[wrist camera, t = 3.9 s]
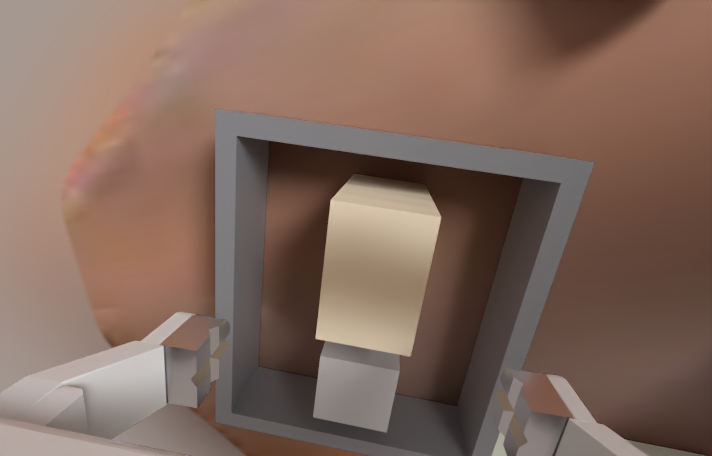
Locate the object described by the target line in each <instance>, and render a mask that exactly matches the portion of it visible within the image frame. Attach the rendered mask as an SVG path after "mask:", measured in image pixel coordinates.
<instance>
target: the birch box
mask: <svg viewBox="0 0 712 456" xmlns="http://www.w3.org/2000/svg"><path fill="white" fill-rule="evenodd" d="M440 222H441V215H440V213H439V211H438V209H437V207H436V205H435V203H434V201H433V199H432V197H431V195H430V193H429V191H428V189H427V187H426V185H425V184H419V183H412V182H406V181H399V180H392V179H386V178H379V177H372V176H366V175H359V174H354V175H353V176H352V177H351V178H350V179H349V180H348V181H347V182H346V183H345V185H344V186H343V187H342V188H341V189H340V190H339V191H338V192H337V194H336V195H335V196H334V197H333V198H332V199H331V202H330V211H329V220H328V229H327V238H326V247H325V256H324V266H323V275H322V284H321V293H320V302H319V311H318V320H317V329H316V338H315V339H319V340H324V341H329V342H335V343H340V344H345V345H351V346H356V347H361V348H367V349H372V350H377V351H382V352H388V353H393V354H398V355H404V356H409V357H411V353H412V348H413V344H414V339H415V335H416V330H417V326H418V321H419V317H420V312H421V308H422V303H423V299H424V294H425V290H426V285H427V280H428V276H429V271H430V267H431V262H432V258H433V253H434V249H435V244H436V240H437V235H438V231H439V226H440Z"/></svg>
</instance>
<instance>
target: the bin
mask: <svg viewBox="0 0 712 456" xmlns="http://www.w3.org/2000/svg"><path fill="white" fill-rule="evenodd" d="M269 141H275V142H282V143H289V144H296V145H303V146H310V147H317V148H323V149H330V150H337V151H344V152H351V153H358V154H365V155H371V156H378V157H385V158H392V159H399V160H406V161H413V162H420V163H426V164H433V165H440V166H447V167H454V168H461V169H468V170H474V171H481V172H488V173H495V174H502V175H509V176H516V177H522V178H523V180H522V184H521V187H520V191H519V194H518V198H517V201H516V204H515V208H514V211H513V215H512V218H511V222H510V225H509V229H508V232H507V236H506V239H505V242H504V246H503V249H502V253H501V256H500V260H499V263H498V267H497V270H496V274H495V277H494V280H493V284H492V287H491V291H490V294H489V298H488V301H487V305H486V308H485V312H484V315H483V318H482V322H481V325H480V329H479V332H478V336H477V339H476V343H475V346H474V350H473V353H472V356H471V360H470V363H469V367H468V370H467V374H466V377H465V381H464V384H463V388H462V391H461V394H460V398H459V401H458V405H457V406H455V405H449V404H444V403H439V402H434V401H429V400H424V399H419V398H414V397H409V396H404V395H399V394H395V396H394V401H393V405H392V410H391V415H390V419H389V424H388V429H387V433H386V432H382V431H377V430H372V429H367V428H362V427H357V426H353V425H348V424H343V423H338V422H333V421H329V420H324V419H319V418H314V417H313V412H314V404H315V396H316V387H317V379H318V378H314V377H309V376H304V375H299V374H294V373H289V372H284V371H278V370H273V369H268V368H263V367H258V365H259V344H260V324H261V303H262V282H263V262H264V241H265V221H266V200H267V180H268V159H269ZM594 163H595V162H590V161H584V160H579V159H573V158H568V157H562V156H556V155H551V154H543V153H536V152H529V151H522V150H515V149H508V148H501V147H493V146H486V145H479V144H472V143H465V142H458V141H451V140H443V139H436V138H429V137H422V136H415V135H408V134H400V133H393V132H386V131H379V130H372V129H365V128H358V127H350V126H343V125H336V124H329V123H322V122H315V121H307V120H300V119H293V118H286V117H279V116H272V115H265V114H257V113H249V112H239V111H229V110H219V109H215V318H219V319H224V320H228V322H229V323H230V333H229V335H228V336H227V337H226V338H225V339H226V341H227V342H228V344H229V345H230V353H229V359H228V362H227V365H226V367H225V370H224V372H223V373H222V374H221V376H220V377H219V378H218V379H216V380H215V423H220V424H224V425H229V426H234V427H239V428H243V429H248V430H253V431H257V432H262V433H267V434H271V435H276V436H281V437H285V438H290V439H295V440H299V441H304V442H309V443H313V444H318V445H323V446H327V447H332V448H337V449H341V450H346V451H351V452H355V453H360V454H365V455H369V456H492V453H493V450H494V447H495V445H496V442H497V439H498V436H499V433H500V431H499V430H498V429H497V426H496V423H495V419H494V400H495V396H496V392H498V391H499V390H500V389H502V388H503V385H502V383H501V381H500V378H501V375H502V372H503V371H504V369H505V368H509V369H515V370H522V368H523V365H524V362H525V359H526V357H527V354H528V351H529V348H530V345H531V342H532V339H533V337H534V334H535V331H536V328H537V325H538V322H539V320H540V317H541V314H542V311H543V308H544V305H545V303H546V300H547V297H548V294H549V291H550V288H551V285H552V283H553V280H554V277H555V274H556V271H557V268H558V266H559V263H560V260H561V257H562V254H563V251H564V249H565V246H566V243H567V240H568V237H569V234H570V231H571V229H572V226H573V223H574V220H575V217H576V214H577V212H578V209H579V206H580V203H581V200H582V197H583V194H584V192H585V189H586V186H587V183H588V180H589V177H590V175H591V172H592V169H593V166H594Z"/></svg>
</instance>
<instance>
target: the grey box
mask: <svg viewBox="0 0 712 456" xmlns="http://www.w3.org/2000/svg"><path fill="white" fill-rule="evenodd" d="M399 373H400V355H398V354H393V353H388V352H382V351H377V350H372V349H367V348H361V347H356V346H351V345H345V344H340V343H335V342H329V341H325V343H324V346H323V349H322V352H321V355H320V362H319V371H318V379H317V387H316V396H315V404H314V412H313V417H314V418H319V419H324V420H329V421H333V422H338V423H343V424H348V425H353V426H357V427H362V428H367V429H372V430H377V431H382V432H386V433H387V429H388V424H389V419H390V415H391V410H392V405H393V401H394V396H395V391H396V387H397V382H398V377H399Z"/></svg>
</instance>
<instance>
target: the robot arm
mask: <svg viewBox="0 0 712 456" xmlns="http://www.w3.org/2000/svg"><path fill="white" fill-rule="evenodd" d="M229 333H230V323H229V322H228V320H224V319H219V318H214V317H209V316H204V315H199V314H193V313H187V312H176V313H175V314H174V315H173V316H171V317H170V318H169V319H168V320H166V321H165V322H164V323H163V324H161V325H160V326H159V327H158V328H156V329H155V330H154V331H153V332H151V333H150V334H149V335H148V336H146V337H145V338H144V339H143V340H141V341H132V342H129V343H126V344H123V345H120V346H117V347H114V348H111V349H108V350H105V351H102V352H99V353H96V354H93V355H90V356H87V357H83V358H80V359H77V360H74V361H71V362H68V363H65V364H62V365H59V366H56V367H53V368H50V369H47V370H44V371H41V372H38V373H35V374H32V375H28V376H26V377H24V378H23V379H21V380H20V381H18V382H16V383H15V384H13V385H12V386H10V387H9V388H7V389H6V390H4V391H3V392H1V393H0V456H189V455H185V454H180V453H174V452H170V451H165V450H160V449H155V448H150V447H145V446H140V445H135V444H130V443H126V442H121V441H115V440H111V439H112V438H114V437H115V436H117V435H119V434H120V433H122V432H124V431H125V430H127V429H128V428H130V427H132V426H133V425H135V424H137V423H138V422H140V421H142V420H143V419H145V418H146V417H148V416H149V415H151V414H153V413H155V412H156V411H158V410H159V409H161V408H163V407H164V406H166V405H167V403H168V404H175V405H181V406H187V407H193V408H198V406H199V405H200V404H201V402H202V401H203V400H204V398H205V397H206V395H207V394H208V393H209V391H210V390H211V382H212V381H214V380H216V379H218V378H219V377H220V376H221V374H222V373H223V372H224V370H225V367H226V365H227V362H228V359H229V353H230V345H229V344H228V342H227V341H226V339H225V338H226V337H227V336H228V335H229ZM500 381H501V383H502V385H503V388H502V389H500V390H499V391H498V392H496V396H495V400H494V419H495V423H496V426H497V429H498V430H499V431H500V432H501V433H502V434H503V435H504V436H505V440H504V443H503V446H504V448H505V451H506V454H507V456H647V455H646V454H645V453H643V452H642V451H640V450H639V449H638V448H636V447H635V446H633V445H632V444H630V443H629V442H628V441H626V440H625V439H623V438H622V437H621V436H619V435H618V434H616V433H615V432H614V431H612V430H611V429H609V428H608V427H607V426H605V425H603V424H598V423H597V422H596V421H595V419H594V418H593V417H592V415H591V414H590V412H589V411H588V410H587V408H586V407H585V405H584V404H583V403H582V401H581V400H580V398H579V397H578V396H577V394H576V393H575V391H574V390H573V389H572V387H571V386H570V384H569V383H568V382H567V380H566V379H565V378H563V377H562V376H558V375H551V374H544V373H542V374H541V373H534V372H528V371H522V370H515V369H509V368H505V369H504V371H503V372H502V375H501V378H500Z"/></svg>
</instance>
